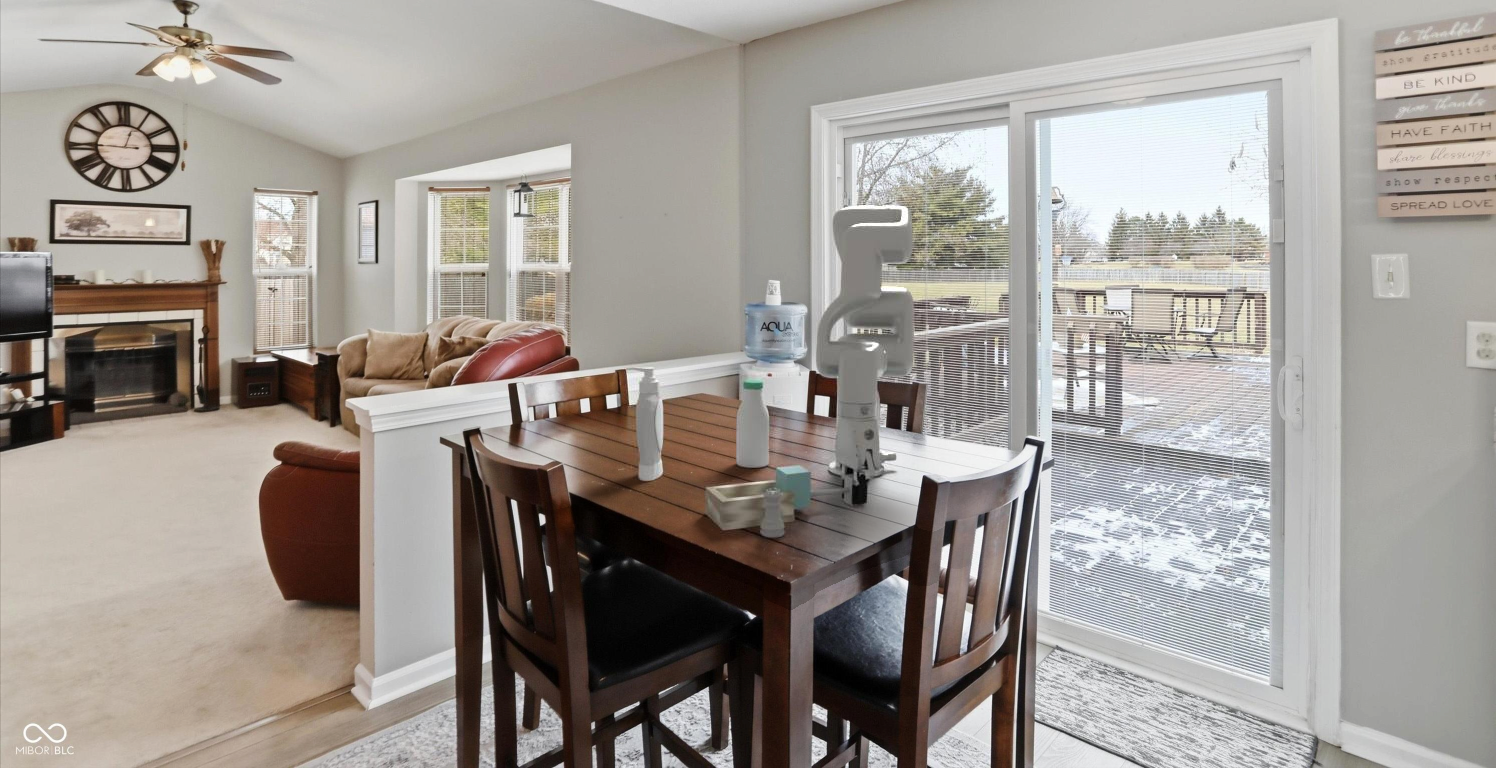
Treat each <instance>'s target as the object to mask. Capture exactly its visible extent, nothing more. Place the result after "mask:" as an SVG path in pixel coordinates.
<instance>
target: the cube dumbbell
mask: <svg viewBox="0 0 1496 768" xmlns="http://www.w3.org/2000/svg"><path fill="white" fill-rule="evenodd" d="M859 477H860V474H859ZM811 478H812V471H810V470H809V469H807V468H805V467H803V466H802V465H800V464H799V465H797V464H796V465H788V466H779V467H775V481H776V488H777V489H779V490H780V493H781V492H789V491H791V492H793V493H794V511H795V510H801V509H802V510H803V509H809V508H811V498H813V497H815V498H816V497H823V496H831V495H838V494H842V493H844V499H843V502H845V503H846V504H847V505H849V506H851V507H853V506H854V507H855V505H853V504H852V485H854V474H847V475H845V480H844V479H843V480H844V488H842V487H840V488H839V487H838V488H832V489H831V488H830V489H822V490H814V491H813V490H812V489H811V487H812V485H811V482H812V479H811ZM811 490H812V491H811ZM861 505H863V504H860V505H859V506H861Z"/></svg>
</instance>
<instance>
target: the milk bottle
mask: <svg viewBox="0 0 1496 768" xmlns="http://www.w3.org/2000/svg"><path fill="white" fill-rule="evenodd" d="M742 384H743V385H742V387H743V391H744V392H743V398H742V400H741V403H740V405H739V408H738V409H737V414H736V436H735V437H736V456H735V459H736V464H737V465H738V466H739V467H741V468H742V467H743V468H749V469H753V468H757V469H759V468H763V467H767V466H768V465H769V463H770V415H769V410H768V408H767V405H766V403H765V400H764V397H763V388H764V381H762V380H759V379H747V380H744V381H743V383H742Z"/></svg>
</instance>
